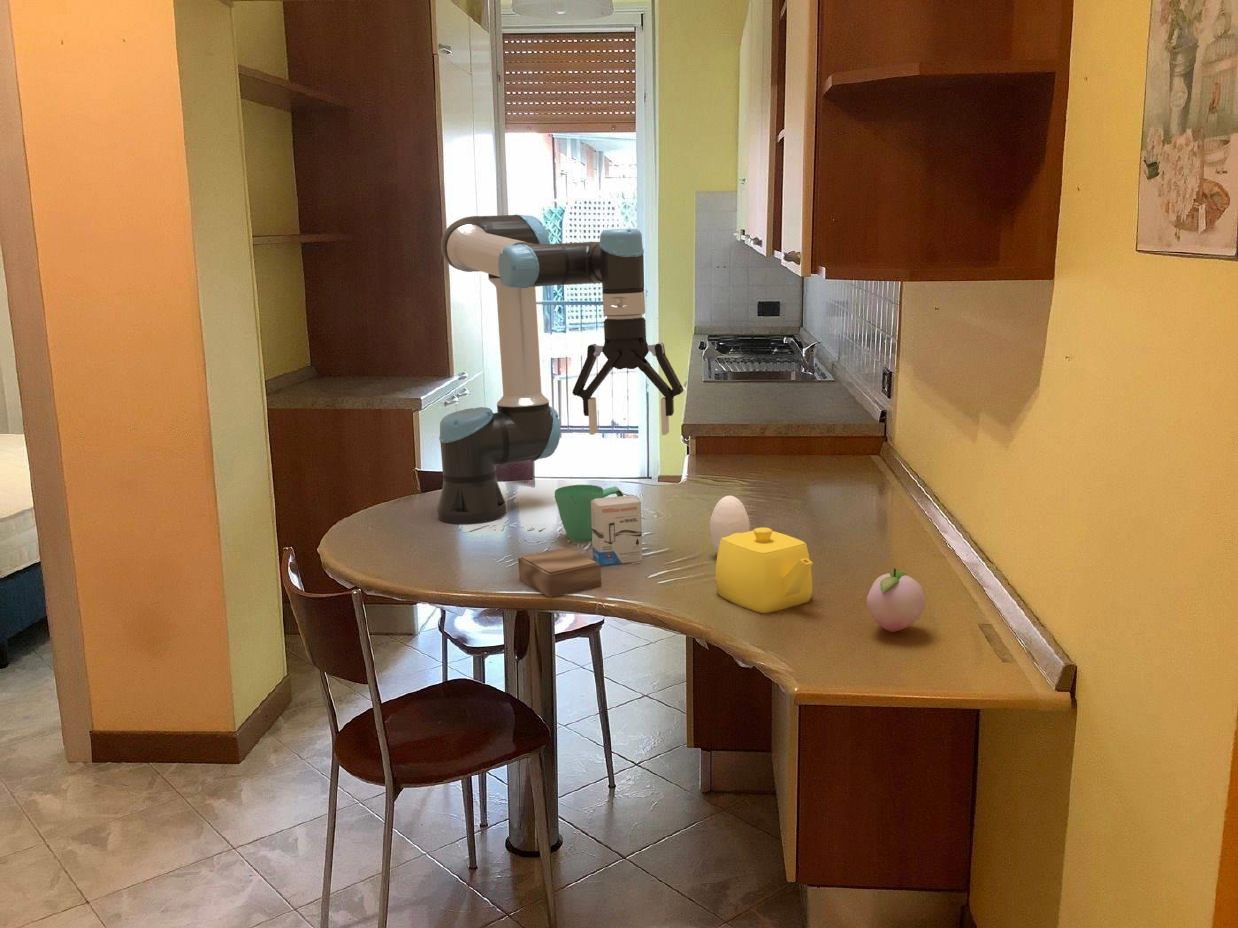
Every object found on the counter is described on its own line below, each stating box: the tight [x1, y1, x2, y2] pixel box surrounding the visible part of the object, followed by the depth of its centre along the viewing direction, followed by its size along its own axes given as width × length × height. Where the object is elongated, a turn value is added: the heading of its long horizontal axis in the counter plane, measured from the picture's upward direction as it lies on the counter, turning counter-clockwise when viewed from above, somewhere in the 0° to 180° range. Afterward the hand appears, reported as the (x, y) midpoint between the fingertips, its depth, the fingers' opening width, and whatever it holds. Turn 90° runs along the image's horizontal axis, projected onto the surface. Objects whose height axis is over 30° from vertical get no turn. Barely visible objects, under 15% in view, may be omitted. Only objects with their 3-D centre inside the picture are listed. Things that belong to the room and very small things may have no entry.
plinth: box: [517, 547, 602, 599], centre depth 183 cm, size 12×10×4 cm
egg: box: [709, 495, 751, 552], centre depth 194 cm, size 7×7×12 cm
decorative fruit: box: [866, 567, 926, 633], centre depth 155 cm, size 9×8×10 cm
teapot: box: [714, 527, 814, 614], centre depth 171 cm, size 20×12×12 cm, turn 32°
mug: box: [554, 484, 624, 542], centre depth 211 cm, size 15×10×10 cm
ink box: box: [591, 495, 643, 567], centre depth 194 cm, size 9×5×12 cm, turn 106°
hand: (629, 433), depth 191 cm, fingers open, 13 cm apart
